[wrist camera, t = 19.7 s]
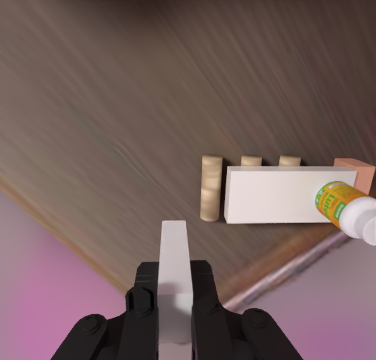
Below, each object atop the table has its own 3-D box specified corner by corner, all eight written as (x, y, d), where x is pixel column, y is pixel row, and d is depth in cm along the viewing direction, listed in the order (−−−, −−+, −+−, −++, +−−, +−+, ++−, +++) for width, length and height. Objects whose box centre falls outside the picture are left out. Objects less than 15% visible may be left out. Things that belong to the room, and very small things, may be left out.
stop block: (324, 209, 45) (342, 223, 40) (335, 158, 42) (355, 166, 38) (341, 209, 45) (361, 222, 41) (352, 158, 42) (375, 166, 38)
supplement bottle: (312, 182, 37) (358, 212, 28) (350, 176, 37) (408, 204, 28) (312, 216, 39) (355, 254, 30) (347, 210, 39) (402, 247, 30)
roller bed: (199, 212, 44) (201, 221, 41) (201, 154, 41) (203, 159, 38) (286, 212, 45) (294, 220, 42) (295, 155, 42) (304, 159, 39)
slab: (224, 215, 41) (227, 223, 39) (227, 166, 38) (231, 171, 36) (335, 214, 42) (344, 222, 40) (345, 166, 40) (356, 171, 37)
